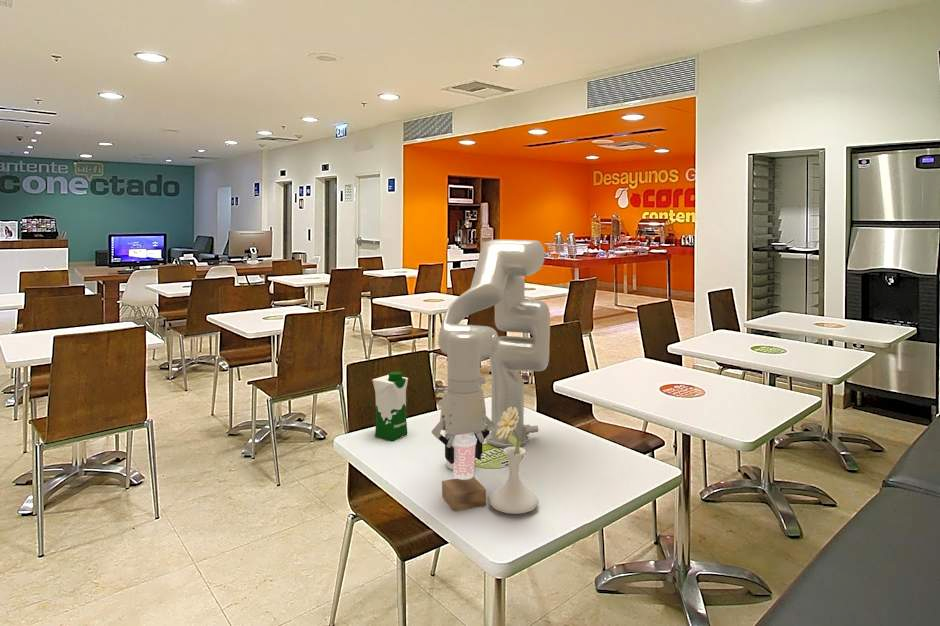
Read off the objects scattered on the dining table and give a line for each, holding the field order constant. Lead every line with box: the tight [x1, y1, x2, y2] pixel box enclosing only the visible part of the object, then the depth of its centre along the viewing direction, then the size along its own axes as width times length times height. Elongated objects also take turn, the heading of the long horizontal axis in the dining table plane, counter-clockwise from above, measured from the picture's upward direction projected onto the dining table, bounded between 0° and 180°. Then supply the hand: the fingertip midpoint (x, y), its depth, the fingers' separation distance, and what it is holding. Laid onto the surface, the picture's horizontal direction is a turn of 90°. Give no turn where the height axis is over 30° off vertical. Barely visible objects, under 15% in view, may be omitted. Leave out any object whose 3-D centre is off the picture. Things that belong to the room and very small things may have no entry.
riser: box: [441, 475, 487, 512], centre depth 150 cm, size 8×8×4 cm
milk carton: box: [372, 370, 409, 442], centre depth 191 cm, size 9×9×20 cm
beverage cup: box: [452, 434, 477, 480], centre depth 148 cm, size 6×6×14 cm
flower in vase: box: [488, 407, 539, 515], centre depth 144 cm, size 13×11×25 cm
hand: (463, 458), depth 148 cm, fingers closed on beverage cup, 6 cm apart
